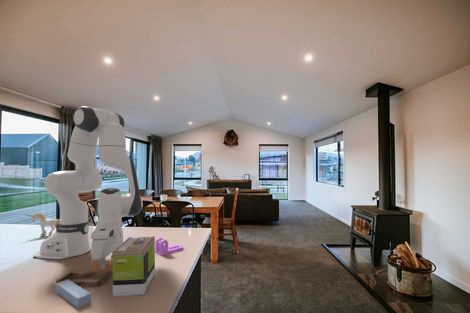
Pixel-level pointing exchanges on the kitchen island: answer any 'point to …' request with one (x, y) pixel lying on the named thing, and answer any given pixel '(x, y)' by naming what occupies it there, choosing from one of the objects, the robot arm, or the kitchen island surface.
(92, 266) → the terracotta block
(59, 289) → the panel
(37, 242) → the kitchen island surface
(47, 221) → the unicorn figurine
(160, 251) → the bracket
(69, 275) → the cradle
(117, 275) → the tea box
